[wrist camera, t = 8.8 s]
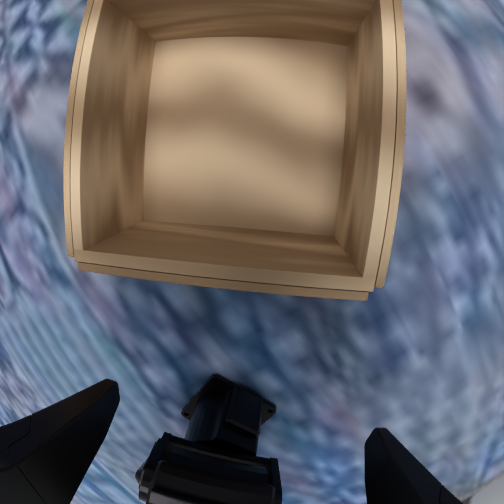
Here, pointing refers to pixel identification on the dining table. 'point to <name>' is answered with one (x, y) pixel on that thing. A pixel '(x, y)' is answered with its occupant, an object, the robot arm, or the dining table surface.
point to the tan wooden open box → (237, 143)
